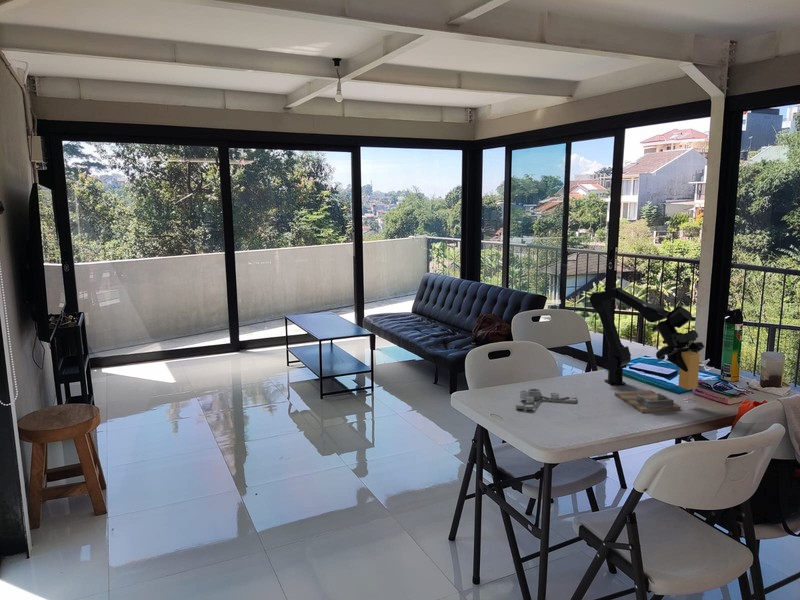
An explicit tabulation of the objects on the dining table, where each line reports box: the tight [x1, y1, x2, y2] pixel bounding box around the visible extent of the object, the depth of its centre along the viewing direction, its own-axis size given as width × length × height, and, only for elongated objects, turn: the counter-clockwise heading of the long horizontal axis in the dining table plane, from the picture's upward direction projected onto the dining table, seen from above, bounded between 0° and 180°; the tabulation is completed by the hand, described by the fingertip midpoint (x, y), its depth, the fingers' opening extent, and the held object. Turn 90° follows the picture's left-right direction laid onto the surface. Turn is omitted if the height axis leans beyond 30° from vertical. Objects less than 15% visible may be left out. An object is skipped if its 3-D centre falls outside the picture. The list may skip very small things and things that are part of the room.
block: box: [678, 351, 701, 391], centre depth 216 cm, size 4×4×13 cm
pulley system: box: [515, 388, 578, 411], centre depth 225 cm, size 27×5×15 cm
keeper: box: [614, 389, 682, 413], centre depth 221 cm, size 20×15×4 cm
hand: (692, 370), depth 215 cm, fingers closed on block, 4 cm apart
